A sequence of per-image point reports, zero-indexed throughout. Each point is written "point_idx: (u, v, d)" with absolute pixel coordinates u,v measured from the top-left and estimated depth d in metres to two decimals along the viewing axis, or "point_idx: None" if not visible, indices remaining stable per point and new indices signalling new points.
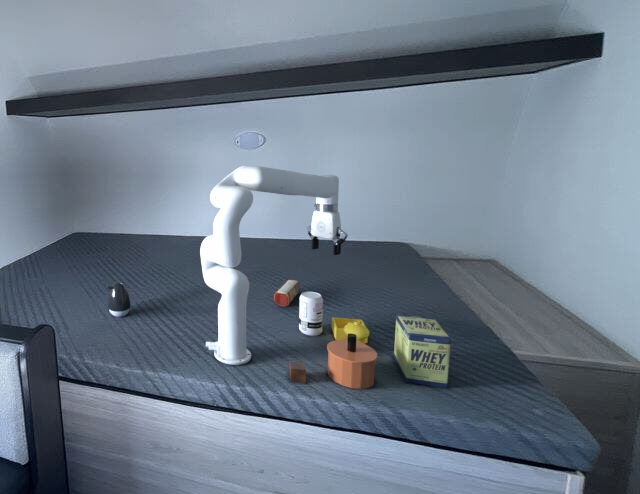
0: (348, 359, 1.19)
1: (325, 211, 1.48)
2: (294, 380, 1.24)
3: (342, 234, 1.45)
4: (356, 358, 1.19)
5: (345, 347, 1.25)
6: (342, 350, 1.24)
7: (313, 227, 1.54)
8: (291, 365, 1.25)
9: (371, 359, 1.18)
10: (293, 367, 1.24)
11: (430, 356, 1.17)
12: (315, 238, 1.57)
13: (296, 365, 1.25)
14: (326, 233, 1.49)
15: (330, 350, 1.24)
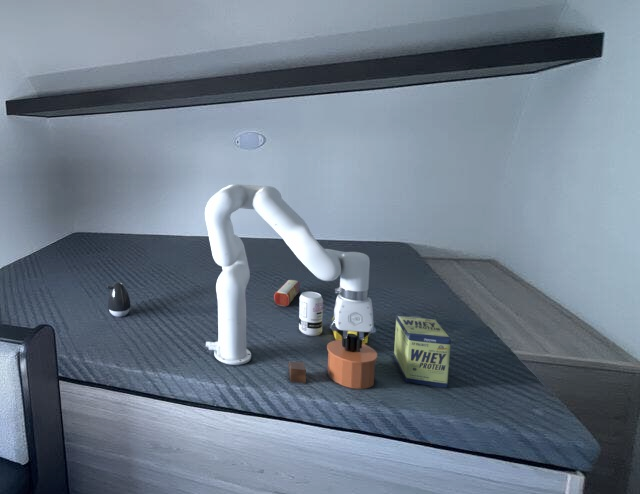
0: (348, 359, 1.19)
1: (364, 299, 1.17)
2: (294, 380, 1.24)
3: (372, 328, 1.20)
4: (356, 358, 1.19)
5: None
6: (342, 350, 1.24)
7: (341, 319, 1.20)
8: (291, 365, 1.25)
9: (371, 359, 1.18)
10: (293, 367, 1.24)
11: (430, 356, 1.17)
12: (347, 336, 1.23)
13: (296, 365, 1.25)
14: (364, 325, 1.19)
15: (330, 350, 1.24)
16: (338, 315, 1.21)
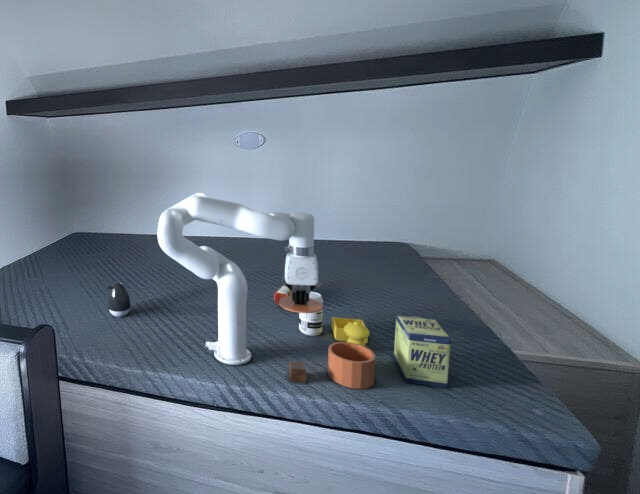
0: (295, 310, 1.30)
1: (309, 255, 1.29)
2: (294, 380, 1.24)
3: (318, 282, 1.32)
4: (302, 309, 1.30)
5: None
6: (292, 303, 1.35)
7: (290, 274, 1.32)
8: (291, 365, 1.25)
9: (316, 310, 1.29)
10: (293, 367, 1.24)
11: (430, 356, 1.17)
12: None
13: (296, 365, 1.25)
14: (309, 279, 1.30)
15: (281, 303, 1.35)
16: (287, 270, 1.32)
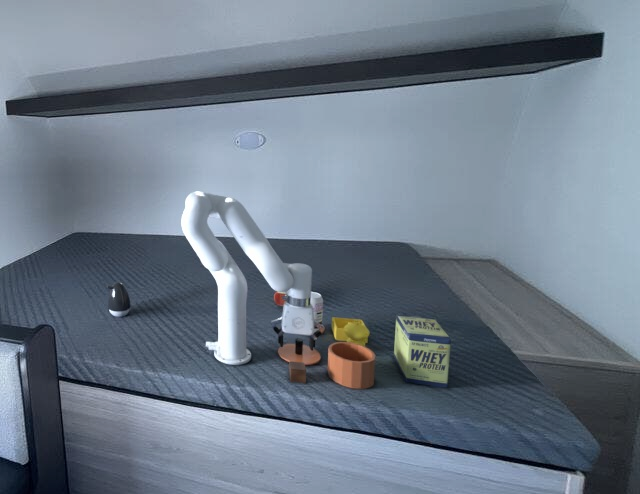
0: (294, 361, 1.33)
1: (306, 306, 1.32)
2: (294, 380, 1.24)
3: (320, 327, 1.34)
4: (301, 360, 1.33)
5: (294, 350, 1.40)
6: (290, 353, 1.38)
7: (286, 323, 1.35)
8: (291, 365, 1.25)
9: (314, 361, 1.33)
10: (293, 367, 1.24)
11: (430, 356, 1.17)
12: None
13: (296, 365, 1.25)
14: (305, 329, 1.33)
15: (280, 353, 1.39)
16: (284, 319, 1.35)
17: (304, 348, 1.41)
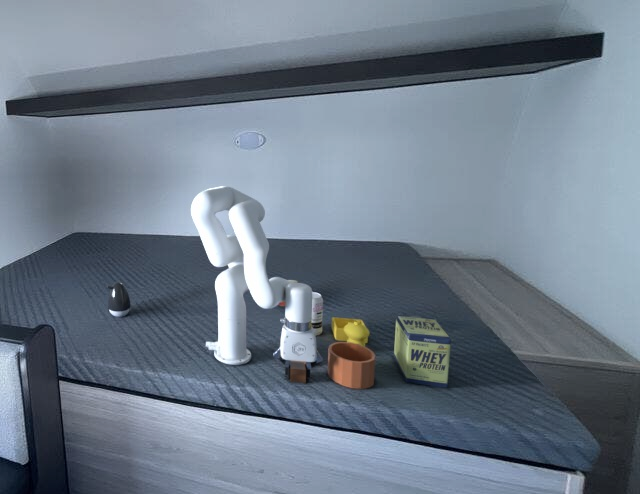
0: (294, 361, 1.33)
1: (306, 330, 1.19)
2: (294, 380, 1.24)
3: (319, 357, 1.22)
4: None
5: None
6: None
7: (286, 349, 1.22)
8: (291, 365, 1.25)
9: None
10: (293, 367, 1.24)
11: (430, 356, 1.17)
12: None
13: (296, 365, 1.25)
14: (307, 356, 1.21)
15: (280, 353, 1.39)
16: (283, 345, 1.23)
17: None
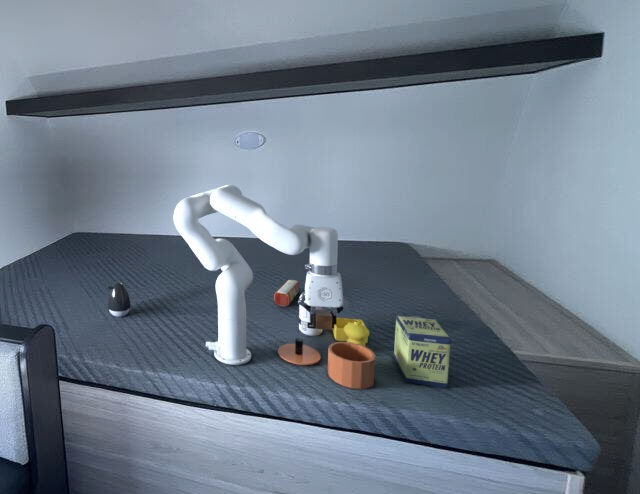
0: (294, 361, 1.33)
1: (332, 274, 1.16)
2: (320, 327, 1.21)
3: (345, 303, 1.19)
4: (301, 360, 1.33)
5: (294, 350, 1.40)
6: (290, 353, 1.38)
7: (311, 295, 1.19)
8: (316, 312, 1.22)
9: (314, 361, 1.33)
10: (318, 314, 1.21)
11: (430, 356, 1.17)
12: None
13: (321, 312, 1.22)
14: (333, 301, 1.18)
15: (280, 353, 1.39)
16: (308, 291, 1.20)
17: (304, 348, 1.41)
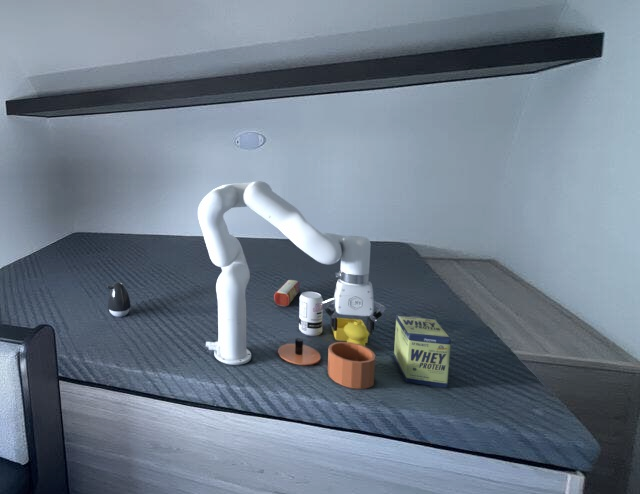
0: (294, 361, 1.33)
1: (364, 283, 1.17)
2: None
3: (380, 307, 1.19)
4: (301, 360, 1.33)
5: (294, 350, 1.40)
6: (290, 353, 1.38)
7: (341, 304, 1.20)
8: None
9: (314, 361, 1.33)
10: None
11: (430, 356, 1.17)
12: None
13: None
14: (364, 310, 1.18)
15: (280, 353, 1.39)
16: (338, 299, 1.20)
17: (304, 348, 1.41)
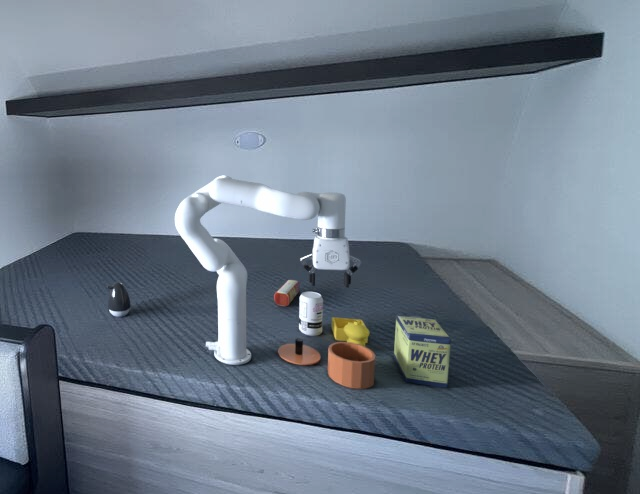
0: (294, 361, 1.33)
1: (340, 237, 1.20)
2: None
3: (356, 261, 1.22)
4: (301, 360, 1.33)
5: (294, 350, 1.40)
6: (290, 353, 1.38)
7: (319, 258, 1.23)
8: None
9: (314, 361, 1.33)
10: None
11: (430, 356, 1.17)
12: (313, 271, 1.27)
13: None
14: (340, 263, 1.22)
15: (280, 353, 1.39)
16: (315, 254, 1.23)
17: (304, 348, 1.41)
